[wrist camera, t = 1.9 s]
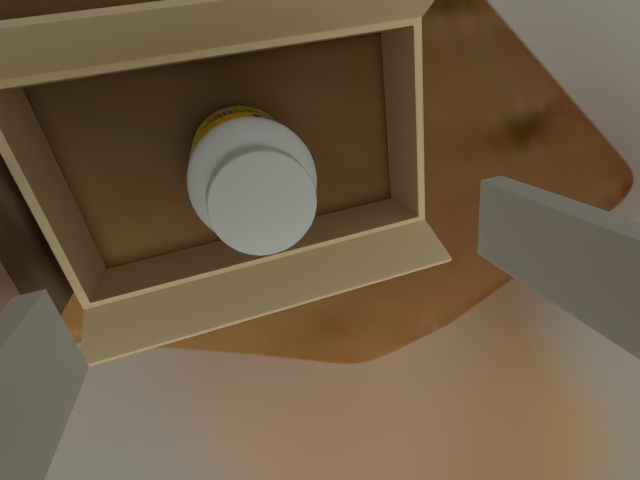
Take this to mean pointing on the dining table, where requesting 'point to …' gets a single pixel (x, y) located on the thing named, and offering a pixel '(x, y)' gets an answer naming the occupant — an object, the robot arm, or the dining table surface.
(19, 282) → the block
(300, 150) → the pill bottle
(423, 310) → the dining table surface
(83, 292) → the carton
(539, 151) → the dining table surface
